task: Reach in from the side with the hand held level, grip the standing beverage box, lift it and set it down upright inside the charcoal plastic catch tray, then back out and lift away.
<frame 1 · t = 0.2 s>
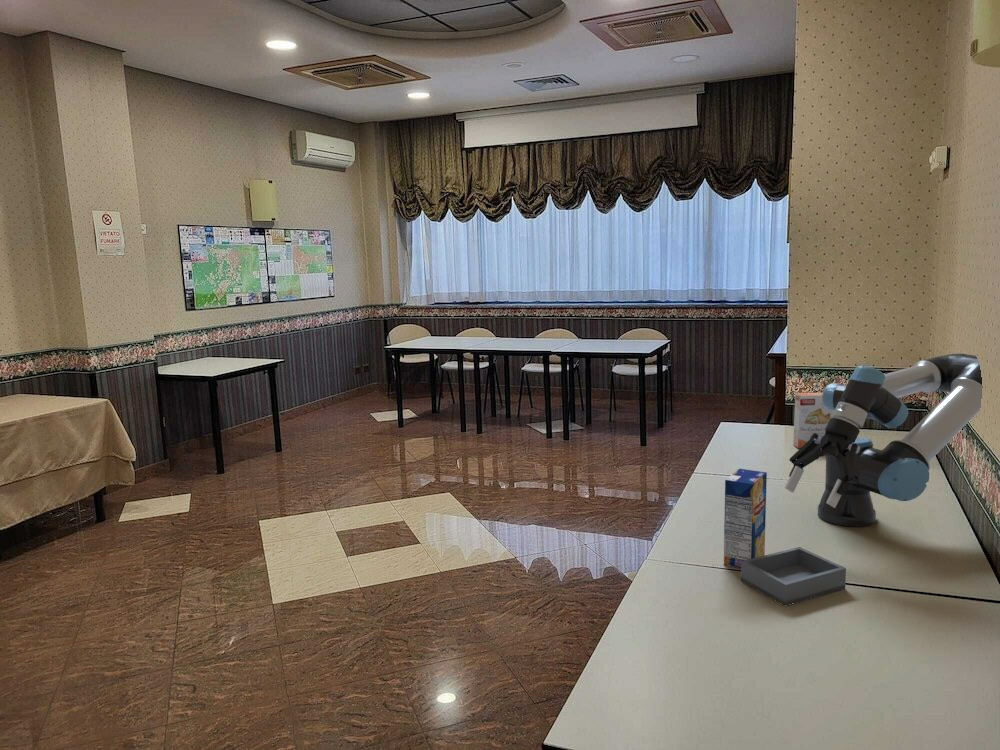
hand: (809, 497, 188), 15 cm above the table, tool tilted 35°, fingers open, 13 cm apart
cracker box: (813, 447, 286), on the table
beverage box: (744, 560, 188), on the table
catch tray: (792, 584, 173), on the table
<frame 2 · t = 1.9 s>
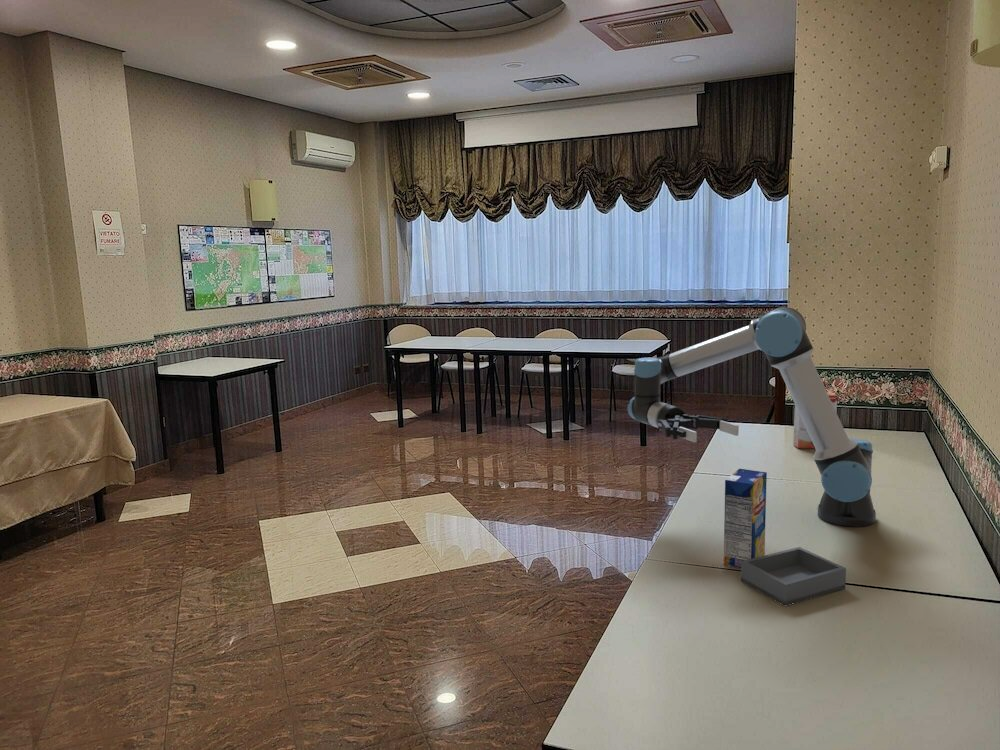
hand: (716, 433, 193), 30 cm above the table, tool horizontal, fingers open, 13 cm apart
nothing on the table moved.
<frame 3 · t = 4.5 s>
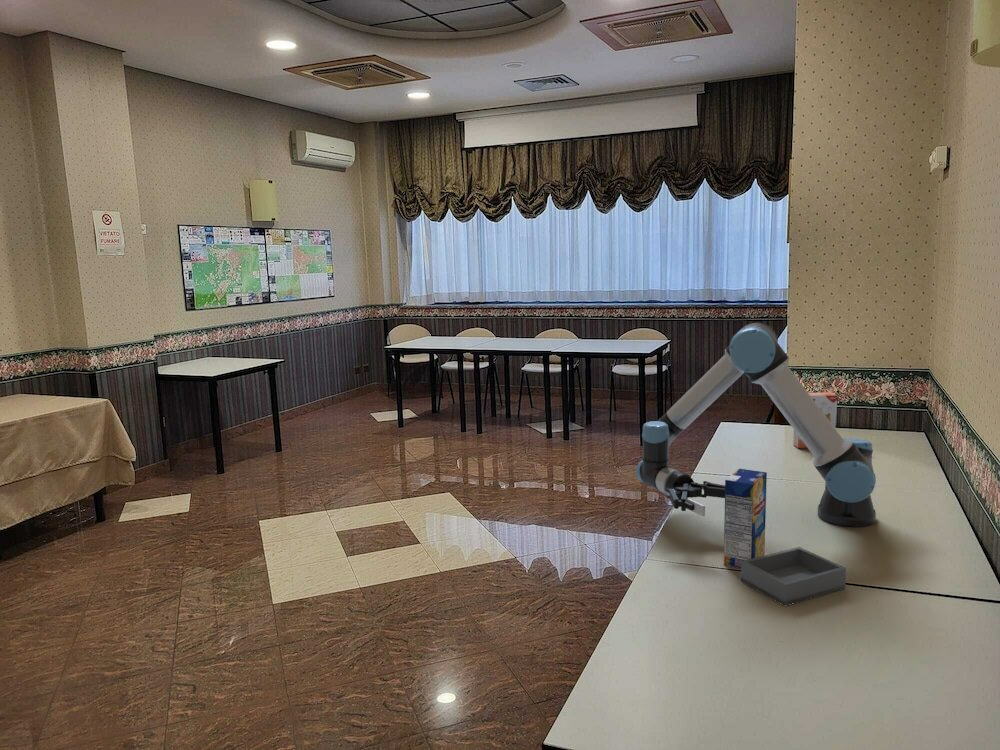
hand: (725, 506, 192), 12 cm above the table, tool horizontal, fingers open, 13 cm apart
nothing on the table moved.
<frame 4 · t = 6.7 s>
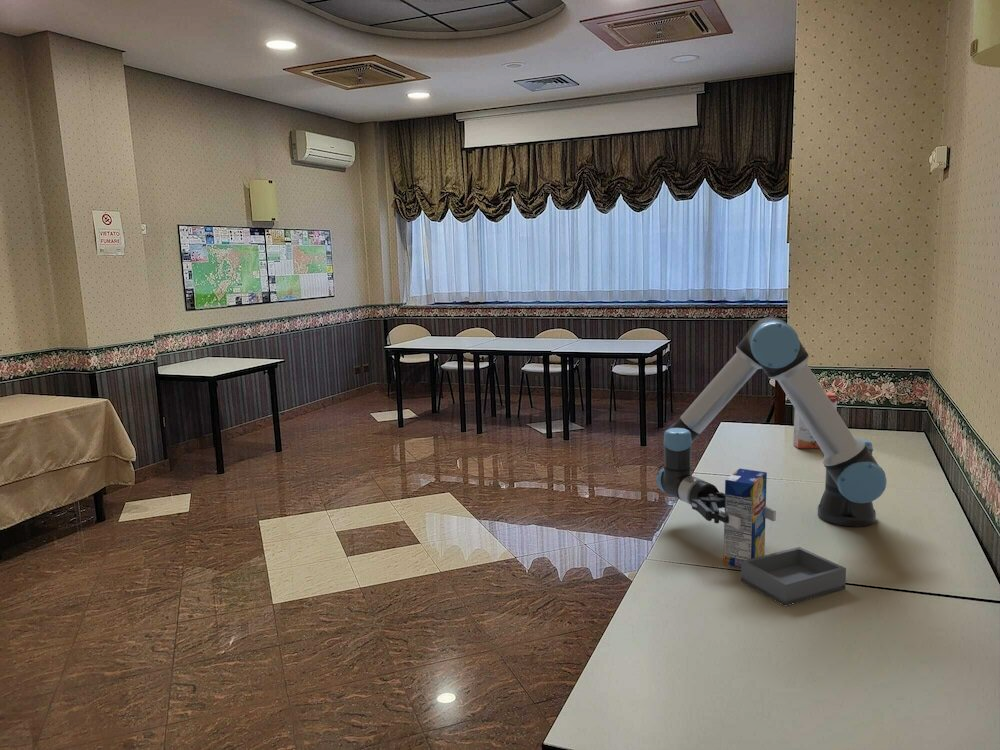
hand: (757, 519, 182), 12 cm above the table, tool horizontal, fingers closed on beverage box, 10 cm apart
beverage box: (744, 560, 188), on the table, touching gripper
everything else where it was.
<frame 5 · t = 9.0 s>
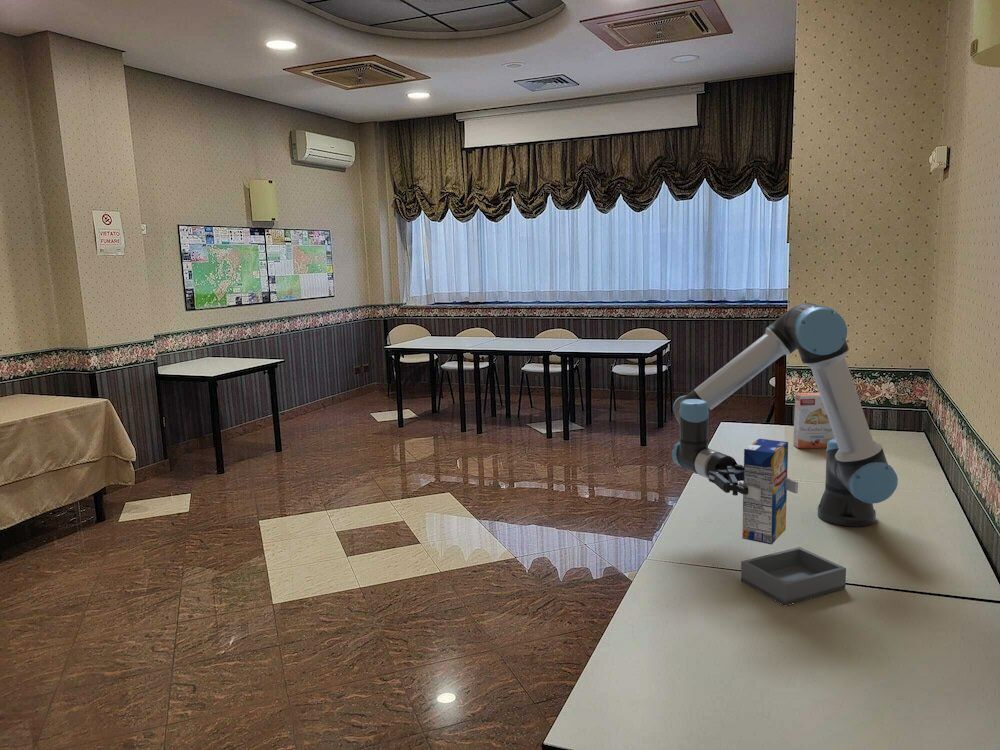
hand: (778, 491, 173), 22 cm above the table, tool horizontal, fingers closed on beverage box, 10 cm apart
beverage box: (764, 534, 179), point 10 cm above the table, touching gripper
everything else where it was.
when the fingers open (14 cm above the table, at t = 11.6 s): beverage box drops 1 cm, resting on catch tray.
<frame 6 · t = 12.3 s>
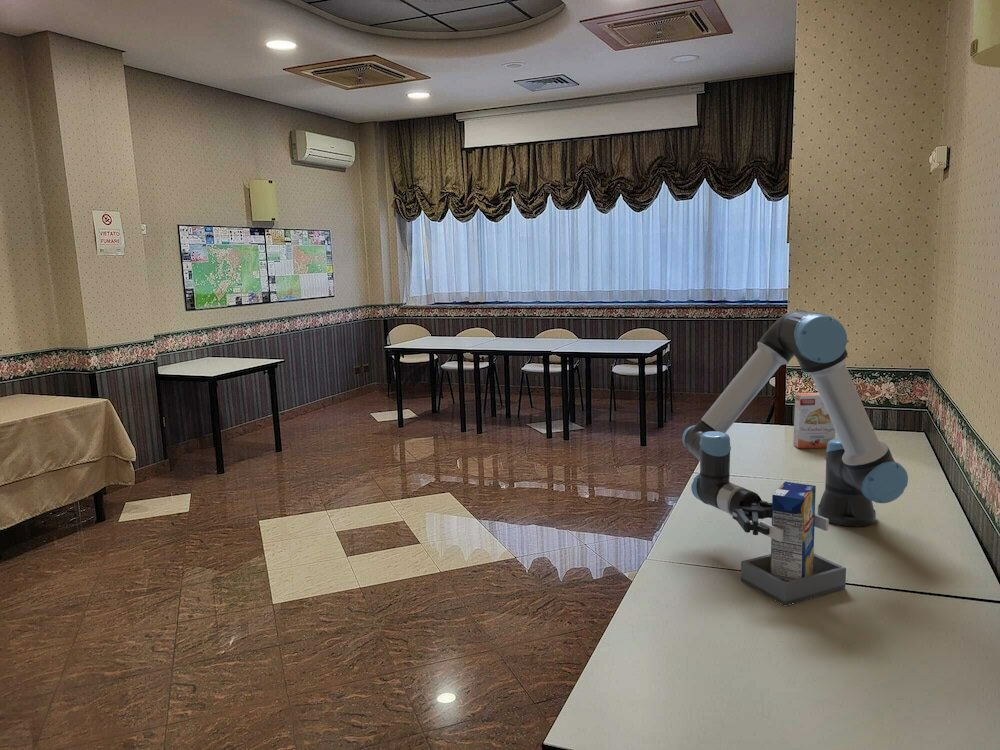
hand: (805, 530, 168), 15 cm above the table, tool horizontal, fingers open, 13 cm apart
beverage box: (791, 581, 173), point 1 cm above the table, touching catch tray
everything else where it was.
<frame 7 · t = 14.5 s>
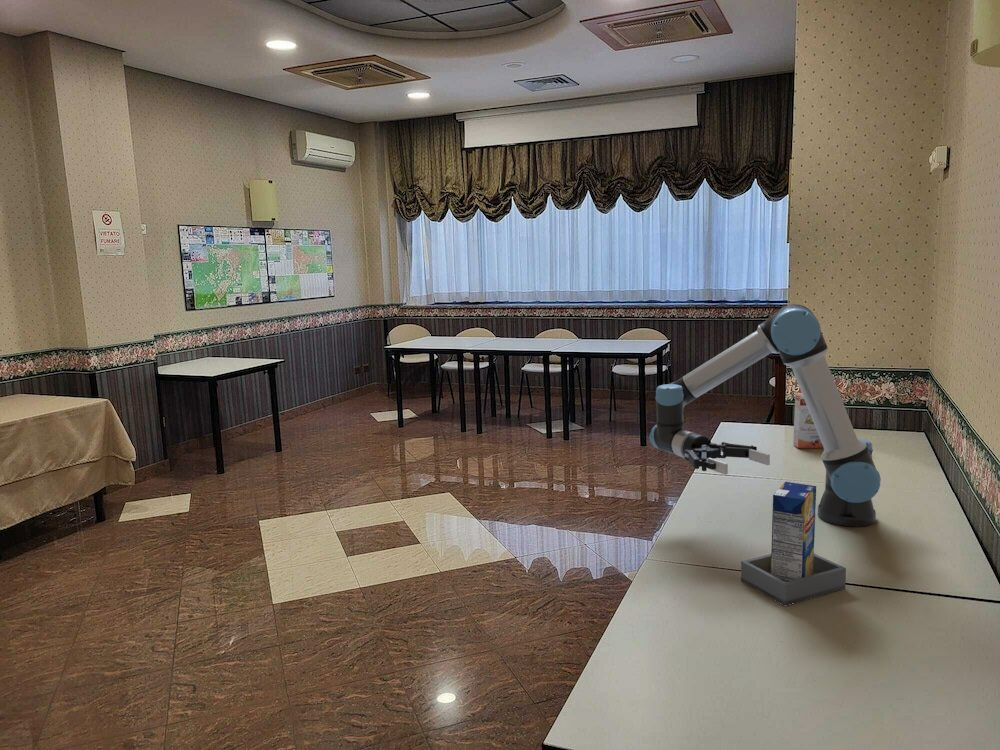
hand: (747, 464, 185), 24 cm above the table, tool horizontal, fingers open, 13 cm apart
nothing on the table moved.
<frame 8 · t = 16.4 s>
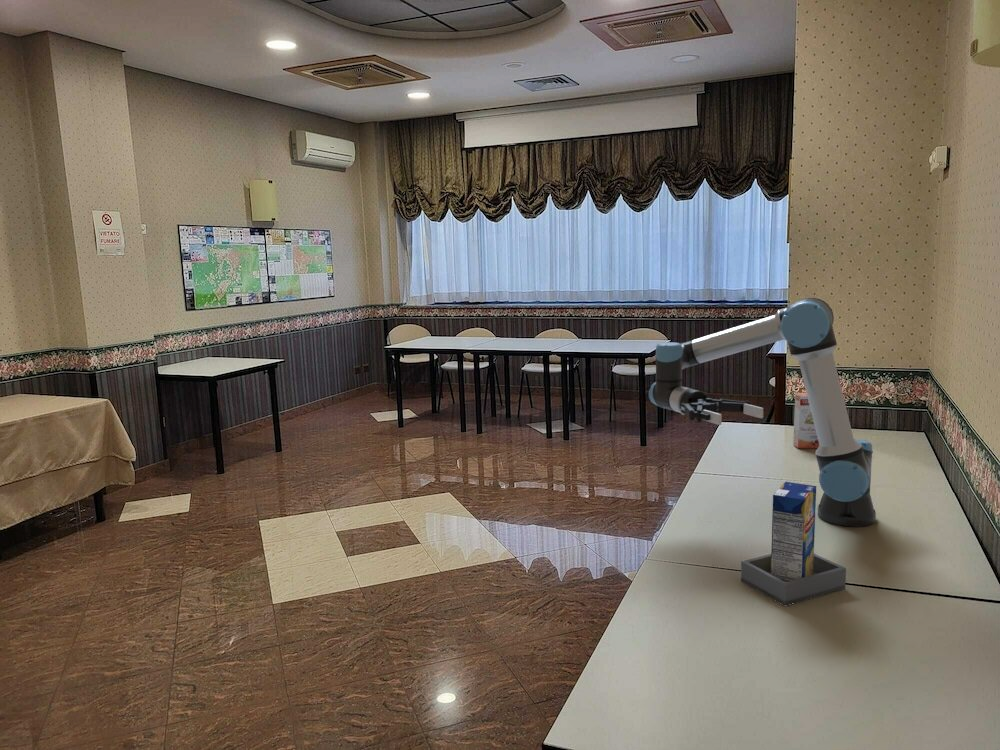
hand: (741, 416, 191), 35 cm above the table, tool horizontal, fingers open, 13 cm apart
nothing on the table moved.
at the end: beverage box 0.1 cm off-centre on the catch tray, point 0.8 cm above the catch tray's base; beverage box tilted 0°; the gripper is holding nothing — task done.
